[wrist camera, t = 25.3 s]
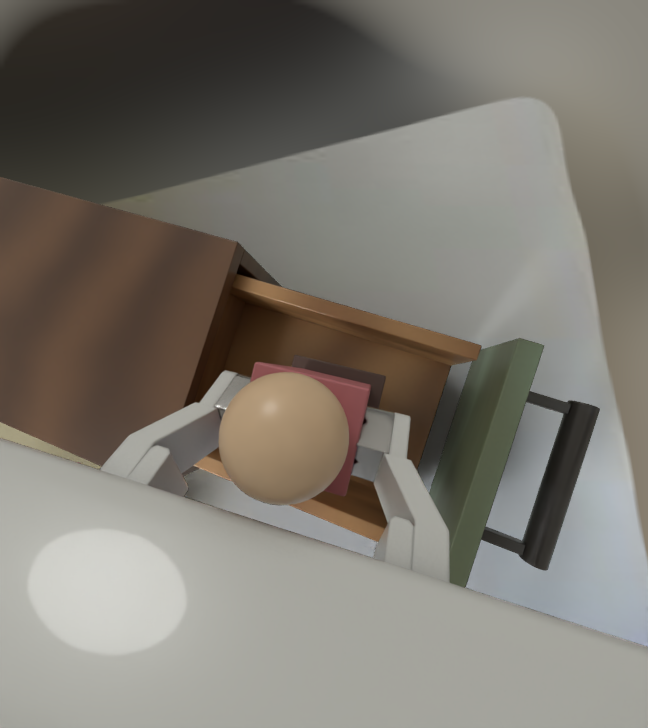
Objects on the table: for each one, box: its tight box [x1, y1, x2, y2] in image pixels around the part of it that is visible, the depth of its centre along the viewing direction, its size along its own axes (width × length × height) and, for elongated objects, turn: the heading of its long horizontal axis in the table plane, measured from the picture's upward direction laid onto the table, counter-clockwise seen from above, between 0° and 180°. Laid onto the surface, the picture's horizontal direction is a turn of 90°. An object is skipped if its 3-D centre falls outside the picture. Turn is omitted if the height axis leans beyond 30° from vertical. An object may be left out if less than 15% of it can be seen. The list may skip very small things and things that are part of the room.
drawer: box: [193, 274, 600, 588], centre depth 20 cm, size 23×13×7 cm, turn 72°
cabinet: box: [0, 177, 282, 477], centre depth 23 cm, size 20×14×9 cm
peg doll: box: [218, 355, 386, 505], centre depth 12 cm, size 4×5×11 cm
